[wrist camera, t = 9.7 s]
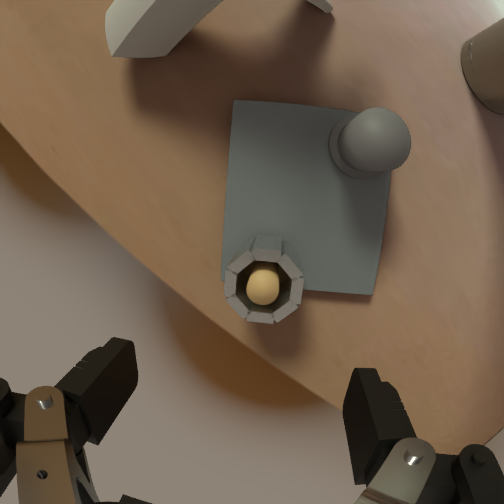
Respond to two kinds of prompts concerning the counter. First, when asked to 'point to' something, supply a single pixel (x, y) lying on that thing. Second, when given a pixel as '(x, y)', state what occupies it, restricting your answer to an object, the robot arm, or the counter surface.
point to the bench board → (311, 191)
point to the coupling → (288, 290)
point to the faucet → (158, 24)
